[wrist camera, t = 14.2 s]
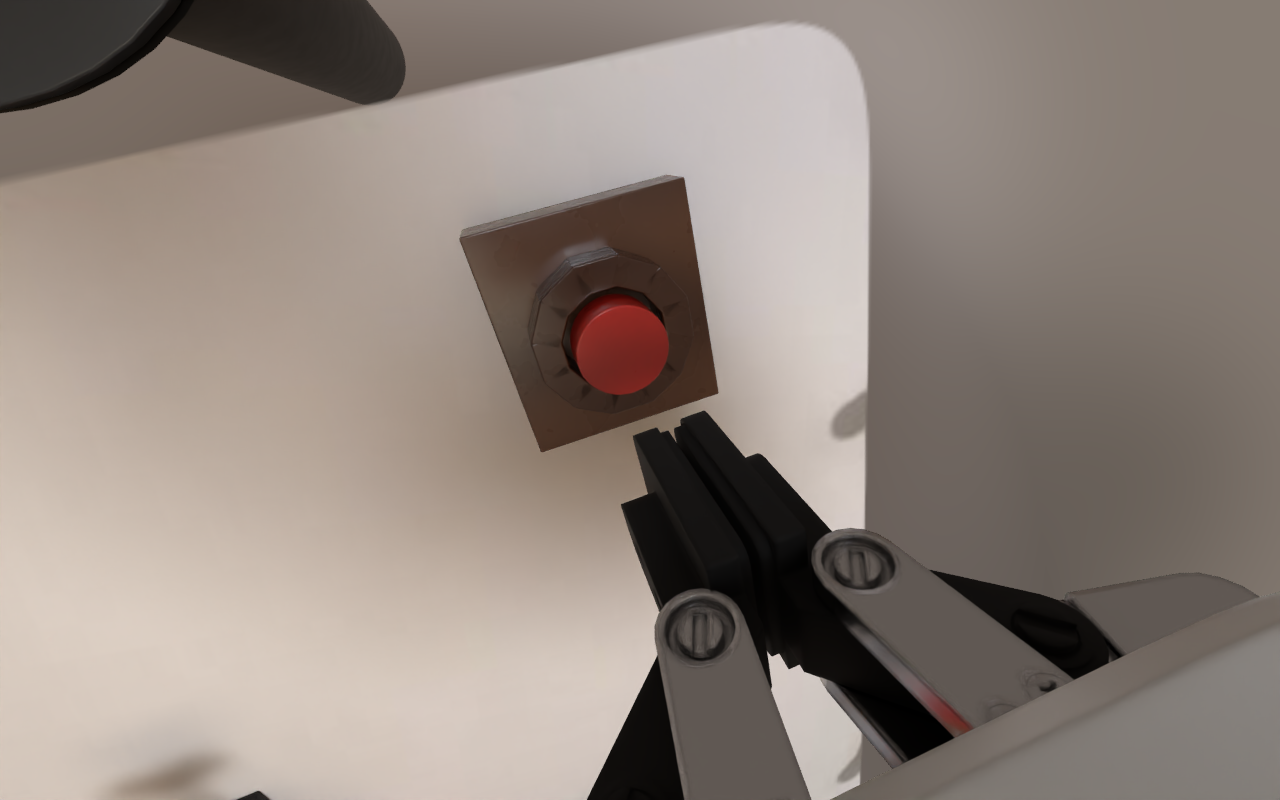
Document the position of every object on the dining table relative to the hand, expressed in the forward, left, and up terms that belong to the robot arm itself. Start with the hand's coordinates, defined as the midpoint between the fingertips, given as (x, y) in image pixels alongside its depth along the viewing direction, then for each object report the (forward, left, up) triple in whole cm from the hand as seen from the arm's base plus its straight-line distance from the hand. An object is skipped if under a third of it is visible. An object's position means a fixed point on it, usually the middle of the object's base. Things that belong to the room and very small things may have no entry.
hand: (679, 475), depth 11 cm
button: (0, +1, -10) cm, 10 cm away
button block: (0, +1, -14) cm, 14 cm away
